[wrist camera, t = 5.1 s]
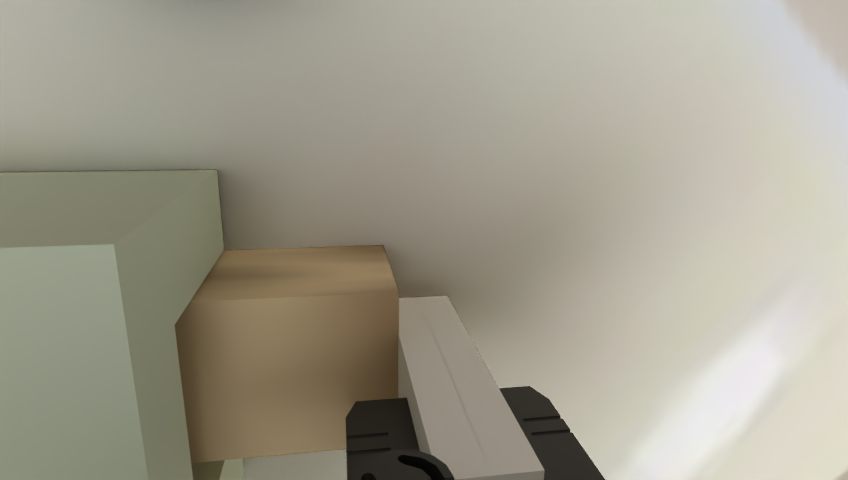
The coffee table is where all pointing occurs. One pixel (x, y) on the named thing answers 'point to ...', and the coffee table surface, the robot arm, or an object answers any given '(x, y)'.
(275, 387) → the peg
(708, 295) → the coffee table surface
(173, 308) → the block
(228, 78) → the coffee table surface
